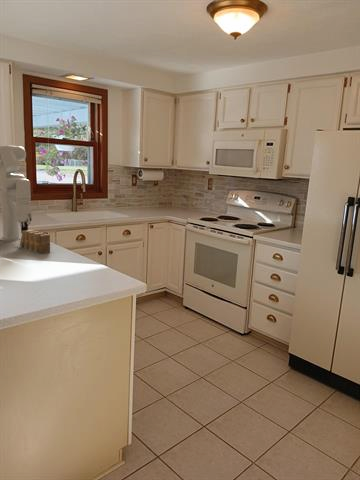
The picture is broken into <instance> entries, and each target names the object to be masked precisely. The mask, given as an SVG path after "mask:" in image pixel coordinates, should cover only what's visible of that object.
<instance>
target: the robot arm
mask: <svg viewBox="0 0 360 480" xmlns="http://www.w3.org/2000/svg"><path fill="white" fill-rule="evenodd" d="M26 158H27V152H26V149H25V148H24V147H23V146H22V145H21V146H20V145H9V144H7V145H0V188H1V189H2V190H0V207H1V217H2V218H1V220H2V221H1V222H2V225H1V226H2V236H1V237H0V241H2V242H3V241H4V242H7V241H19V240H20V241H21V236H22V235H20V234H22V232H23V231H24V230H29V225H31V222H32V221H33V211H32V201H31V200H32V199H31V198H32V197H31V181H30V179H27V178H26V176H25V175H24V174H21V173H15V172H17V171H19V169H20V168H21V164H20V161H25V160H26ZM20 230H21V231H20Z"/></svg>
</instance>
